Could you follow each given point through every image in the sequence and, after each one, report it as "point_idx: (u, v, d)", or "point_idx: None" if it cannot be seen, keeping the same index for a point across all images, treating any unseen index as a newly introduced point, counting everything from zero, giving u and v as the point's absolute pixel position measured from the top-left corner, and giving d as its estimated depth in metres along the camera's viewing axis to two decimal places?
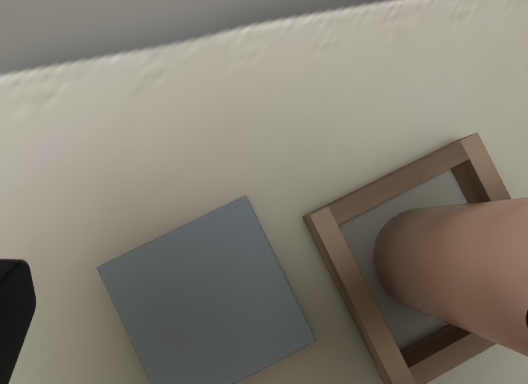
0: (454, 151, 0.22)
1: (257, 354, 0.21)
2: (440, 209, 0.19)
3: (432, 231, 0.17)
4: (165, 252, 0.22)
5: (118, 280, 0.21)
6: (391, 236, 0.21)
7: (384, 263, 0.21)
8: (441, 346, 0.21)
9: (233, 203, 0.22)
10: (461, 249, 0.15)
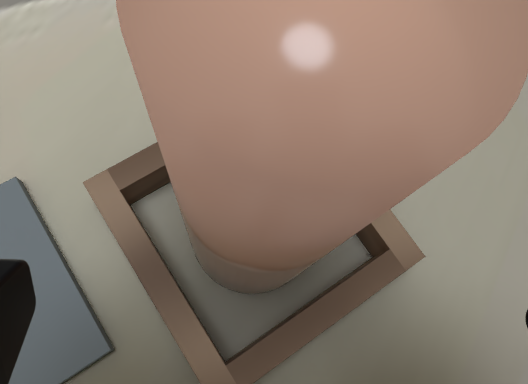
0: None
1: (26, 380, 0.16)
2: None
3: None
4: None
5: None
6: None
7: None
8: (273, 331, 0.16)
9: None
10: None
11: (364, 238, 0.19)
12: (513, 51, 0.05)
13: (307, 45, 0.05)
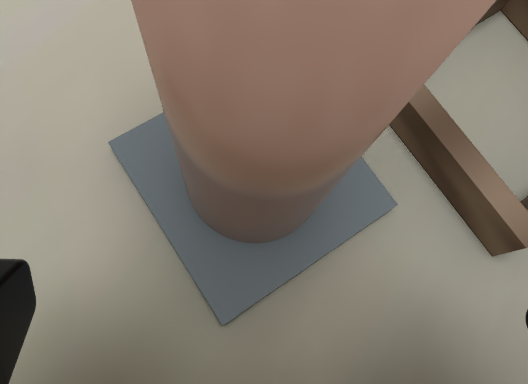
0: None
1: (327, 228, 0.16)
2: None
3: None
4: None
5: (137, 155, 0.17)
6: None
7: None
8: None
9: None
10: None
11: None
12: None
13: None
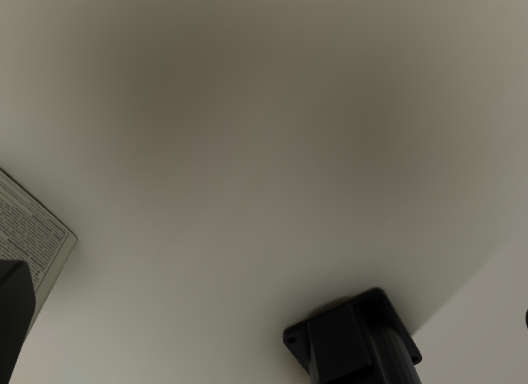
0: None
1: None
2: None
3: None
4: None
5: None
6: None
7: None
8: None
9: None
10: None
11: None
12: None
13: None
